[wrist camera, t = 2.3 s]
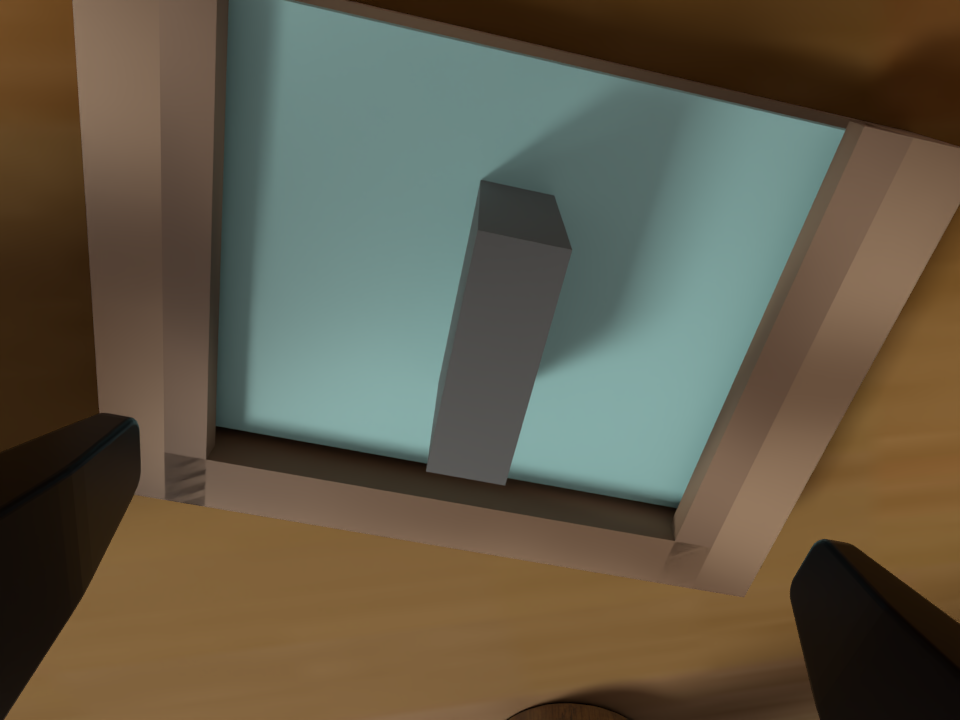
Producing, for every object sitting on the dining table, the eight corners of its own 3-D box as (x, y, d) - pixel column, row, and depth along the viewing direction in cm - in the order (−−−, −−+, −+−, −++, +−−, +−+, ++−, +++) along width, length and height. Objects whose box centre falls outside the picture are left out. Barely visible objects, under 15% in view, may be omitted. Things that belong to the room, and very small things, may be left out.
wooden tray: (715, 531, 21) (744, 597, 18) (150, 431, 19) (104, 489, 17) (911, 132, 15) (986, 154, 13) (139, -49, 14) (68, -60, 11)
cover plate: (687, 492, 19) (737, 618, 15) (204, 405, 18) (125, 516, 14) (849, 129, 14) (982, 175, 10) (213, -19, 13) (99, -29, 9)
